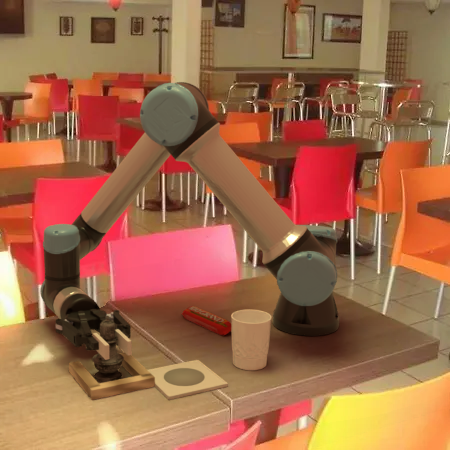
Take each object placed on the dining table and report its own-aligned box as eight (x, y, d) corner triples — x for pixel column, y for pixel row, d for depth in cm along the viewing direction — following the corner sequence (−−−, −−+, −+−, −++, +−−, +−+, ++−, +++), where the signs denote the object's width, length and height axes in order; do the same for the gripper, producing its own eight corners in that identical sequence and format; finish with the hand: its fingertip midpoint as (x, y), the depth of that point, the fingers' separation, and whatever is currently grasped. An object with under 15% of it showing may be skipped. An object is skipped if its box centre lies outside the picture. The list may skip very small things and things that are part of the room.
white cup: (257, 375, 138) (259, 326, 135) (222, 365, 142) (223, 317, 139) (276, 361, 144) (278, 314, 142) (242, 352, 148) (244, 306, 146)
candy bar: (179, 318, 168) (179, 305, 167) (191, 315, 170) (191, 302, 169) (223, 339, 156) (224, 325, 155) (236, 335, 158) (236, 322, 157)
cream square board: (197, 362, 143) (197, 359, 143) (227, 386, 133) (227, 382, 132) (141, 373, 137) (141, 370, 137) (168, 399, 127) (168, 396, 127)
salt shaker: (117, 384, 132) (117, 322, 130) (87, 380, 133) (86, 319, 131) (128, 371, 138) (127, 311, 135) (99, 367, 139) (98, 309, 136)
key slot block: (127, 360, 143) (127, 351, 142) (154, 386, 132) (154, 377, 131) (69, 371, 137) (68, 362, 137) (92, 399, 126) (91, 390, 126)
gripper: (115, 321, 154) (160, 361, 134) (37, 333, 146) (74, 378, 126) (114, 287, 152) (160, 323, 133) (36, 298, 144) (73, 338, 125)
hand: (118, 350), depth 130 cm, fingers closed on salt shaker, 4 cm apart
